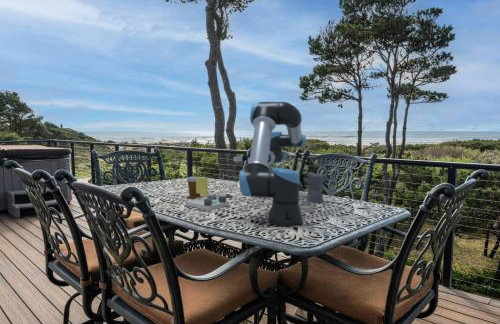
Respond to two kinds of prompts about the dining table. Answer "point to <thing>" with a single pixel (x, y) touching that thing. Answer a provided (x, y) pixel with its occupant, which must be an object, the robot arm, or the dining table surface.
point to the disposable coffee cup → (192, 187)
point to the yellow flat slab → (203, 188)
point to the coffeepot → (314, 186)
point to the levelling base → (201, 204)
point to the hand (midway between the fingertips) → (241, 159)
